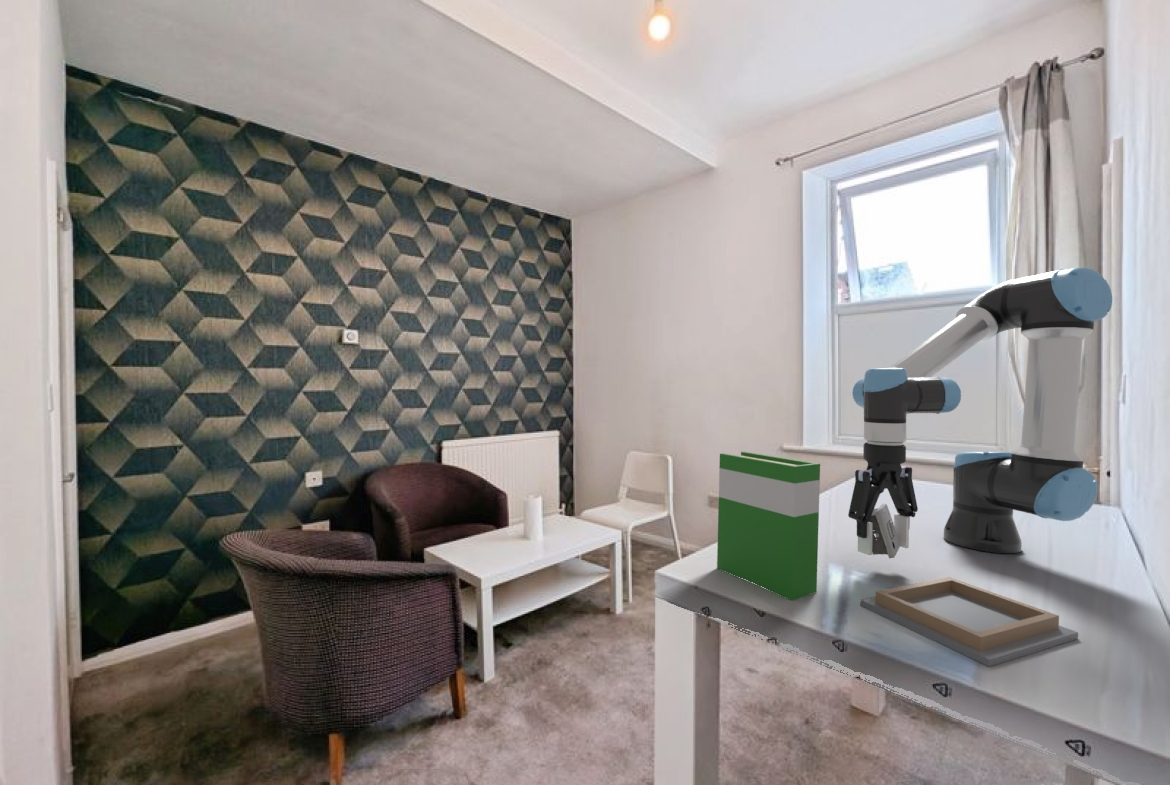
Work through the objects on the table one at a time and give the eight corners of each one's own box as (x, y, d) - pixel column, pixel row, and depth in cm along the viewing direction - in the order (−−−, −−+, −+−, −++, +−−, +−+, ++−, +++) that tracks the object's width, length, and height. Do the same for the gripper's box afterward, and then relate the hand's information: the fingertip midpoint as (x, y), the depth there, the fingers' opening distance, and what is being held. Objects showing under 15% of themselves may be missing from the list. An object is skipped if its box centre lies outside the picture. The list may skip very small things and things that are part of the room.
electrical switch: (894, 560, 98) (889, 512, 98) (864, 557, 101) (859, 511, 101) (900, 548, 105) (896, 503, 105) (872, 545, 108) (868, 502, 109)
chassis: (943, 588, 95) (943, 572, 95) (1077, 638, 77) (1078, 619, 77) (860, 605, 87) (861, 588, 87) (989, 666, 69) (989, 645, 68)
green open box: (717, 568, 104) (719, 453, 103) (741, 562, 107) (743, 451, 107) (791, 600, 89) (795, 466, 88) (816, 592, 92) (820, 463, 92)
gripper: (904, 438, 110) (903, 537, 111) (828, 443, 102) (827, 550, 102) (939, 441, 103) (938, 547, 104) (861, 448, 95) (860, 563, 95)
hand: (883, 549), depth 103 cm, fingers closed on electrical switch, 10 cm apart
